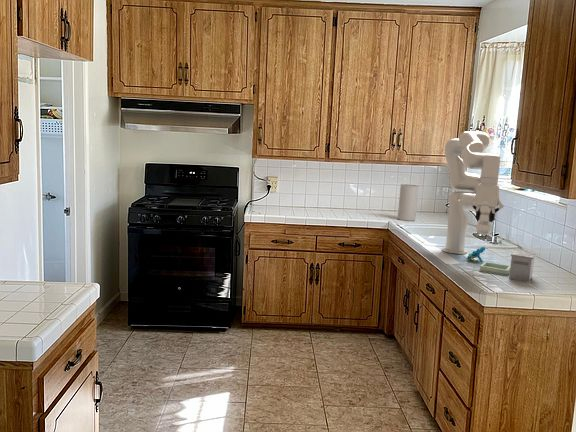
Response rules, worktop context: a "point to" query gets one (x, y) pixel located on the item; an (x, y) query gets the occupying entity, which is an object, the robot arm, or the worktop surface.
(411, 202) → the cylinder vase
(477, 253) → the gear
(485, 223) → the plastic bottle
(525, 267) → the grey box
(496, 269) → the tray
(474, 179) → the robot arm
